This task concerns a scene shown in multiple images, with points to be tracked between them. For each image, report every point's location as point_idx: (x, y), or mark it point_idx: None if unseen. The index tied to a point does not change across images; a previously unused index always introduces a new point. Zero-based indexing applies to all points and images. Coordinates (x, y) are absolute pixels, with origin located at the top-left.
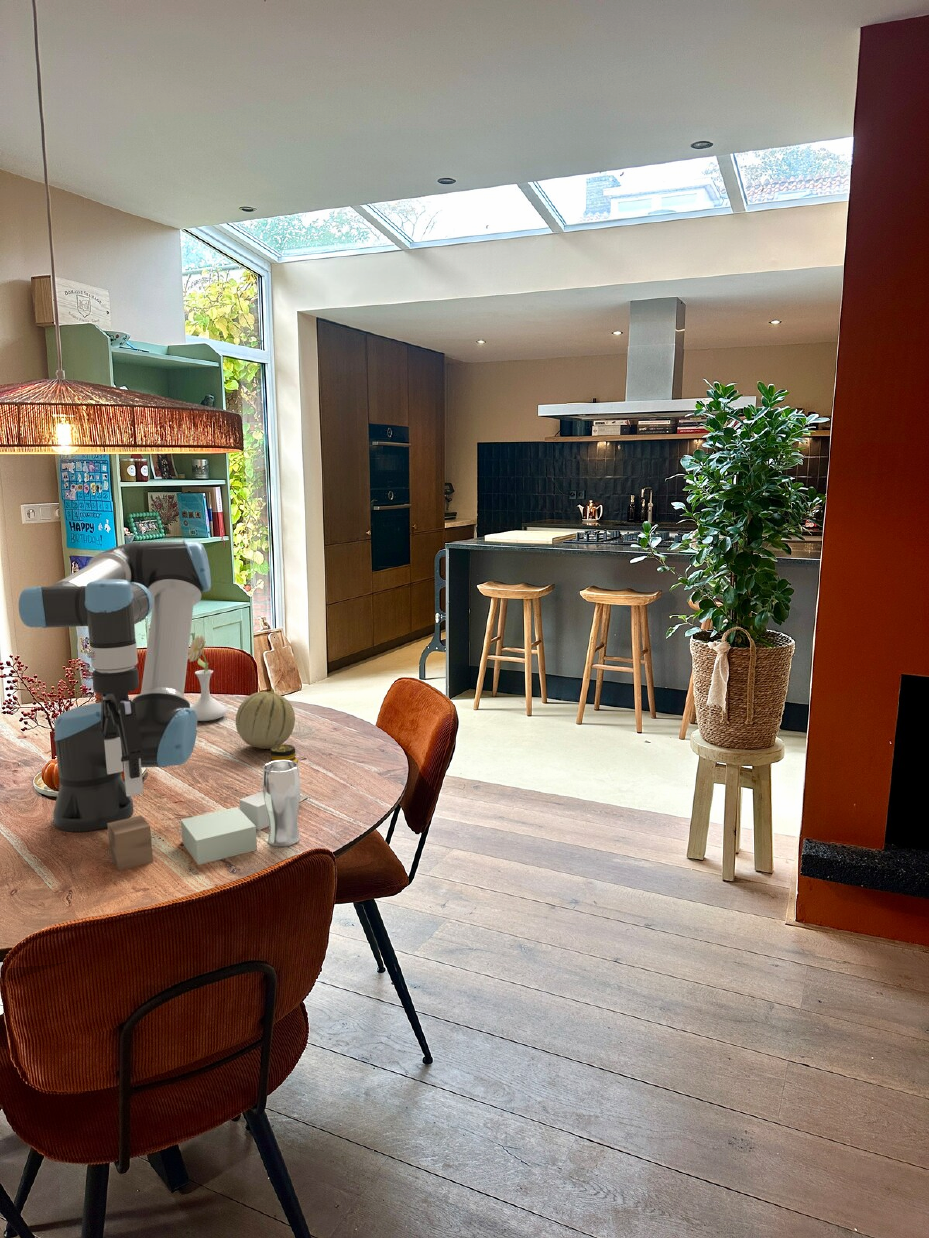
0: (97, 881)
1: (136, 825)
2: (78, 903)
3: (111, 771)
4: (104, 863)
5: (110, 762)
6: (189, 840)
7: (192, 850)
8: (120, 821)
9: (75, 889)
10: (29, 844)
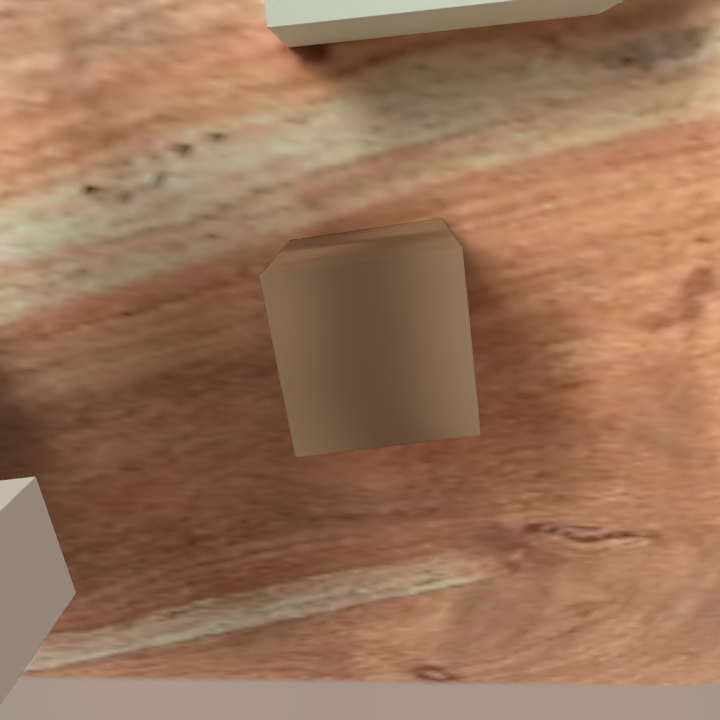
0: (509, 442)
1: (409, 319)
2: (654, 512)
3: (57, 581)
4: None
5: (7, 649)
6: (460, 17)
7: (507, 17)
8: (302, 393)
9: (532, 513)
10: None
